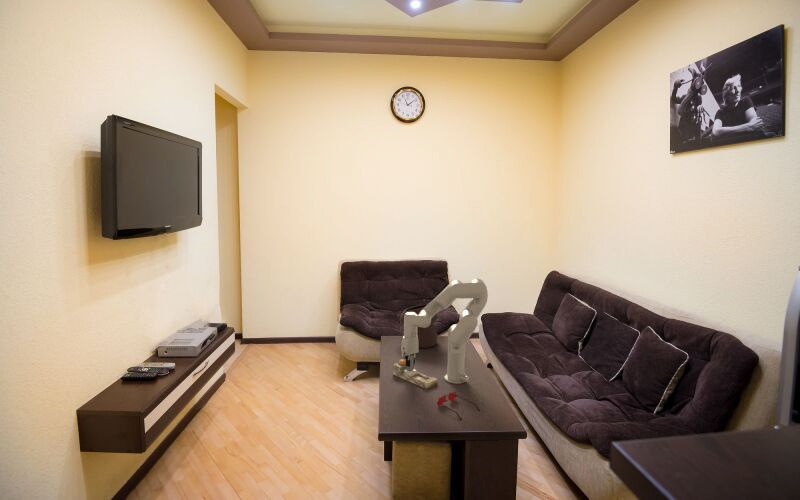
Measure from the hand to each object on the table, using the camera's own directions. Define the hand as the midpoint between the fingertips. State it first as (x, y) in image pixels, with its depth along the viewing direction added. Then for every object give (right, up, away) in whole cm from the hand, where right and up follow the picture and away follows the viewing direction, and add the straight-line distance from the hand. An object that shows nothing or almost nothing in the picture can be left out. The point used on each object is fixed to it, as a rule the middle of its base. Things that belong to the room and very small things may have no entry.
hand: (410, 365), depth 232 cm
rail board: (+3, -8, -2) cm, 8 cm away
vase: (+8, -1, +61) cm, 61 cm away
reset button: (-4, -2, +5) cm, 7 cm away
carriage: (0, -6, +1) cm, 6 cm away
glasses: (+22, -12, -35) cm, 43 cm away
